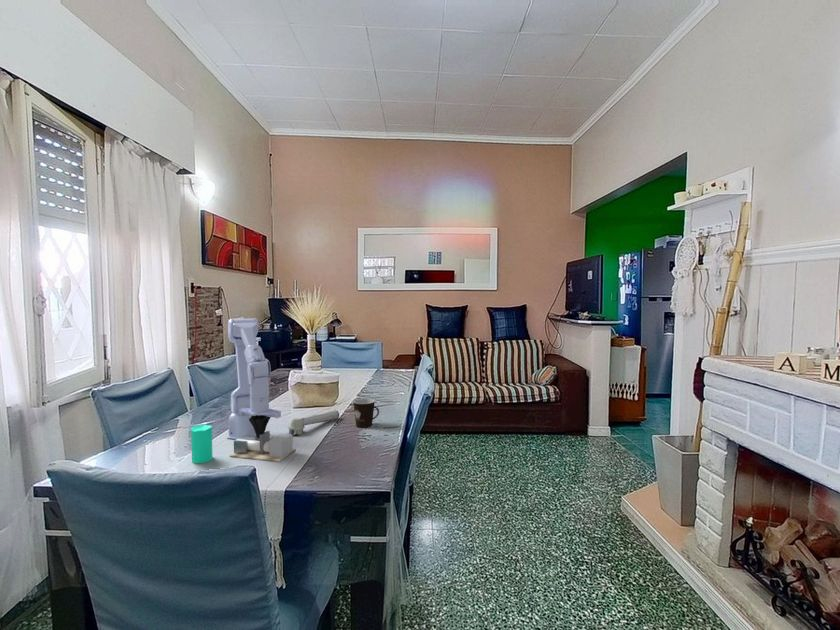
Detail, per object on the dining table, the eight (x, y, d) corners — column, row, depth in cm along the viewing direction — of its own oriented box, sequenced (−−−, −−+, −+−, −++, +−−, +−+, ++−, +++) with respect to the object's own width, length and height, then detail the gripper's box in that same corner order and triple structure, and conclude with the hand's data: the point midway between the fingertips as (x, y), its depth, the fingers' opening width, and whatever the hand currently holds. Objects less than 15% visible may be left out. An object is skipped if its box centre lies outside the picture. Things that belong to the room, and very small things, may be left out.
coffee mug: (350, 424, 166) (350, 399, 166) (370, 421, 170) (370, 397, 170) (359, 432, 156) (359, 406, 156) (380, 429, 160) (380, 404, 160)
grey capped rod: (341, 410, 173) (296, 417, 151) (339, 426, 172) (294, 436, 151) (331, 408, 175) (286, 415, 154) (330, 424, 175) (284, 433, 154)
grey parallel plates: (233, 452, 135) (233, 441, 135) (245, 446, 141) (245, 435, 140) (245, 454, 134) (245, 442, 134) (256, 447, 140) (256, 436, 139)
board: (229, 456, 133) (229, 455, 133) (249, 445, 143) (249, 444, 143) (278, 462, 129) (278, 460, 129) (295, 450, 138) (295, 448, 138)
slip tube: (232, 450, 136) (232, 432, 136) (240, 446, 140) (240, 428, 140) (269, 454, 133) (269, 435, 132) (277, 450, 137) (276, 431, 136)
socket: (269, 456, 131) (269, 440, 131) (281, 449, 138) (280, 433, 137) (281, 458, 130) (281, 441, 130) (292, 450, 137) (292, 434, 136)
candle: (189, 459, 131) (188, 422, 130) (209, 454, 135) (208, 418, 134) (194, 465, 126) (193, 427, 126) (215, 459, 131) (214, 422, 130)
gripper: (232, 398, 133) (233, 439, 133) (271, 401, 129) (272, 443, 130) (246, 393, 140) (247, 432, 140) (284, 396, 136) (284, 436, 137)
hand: (260, 437), depth 136 cm, fingers closed
